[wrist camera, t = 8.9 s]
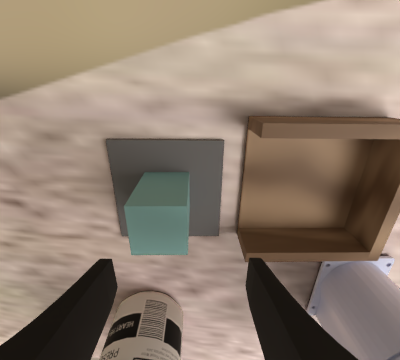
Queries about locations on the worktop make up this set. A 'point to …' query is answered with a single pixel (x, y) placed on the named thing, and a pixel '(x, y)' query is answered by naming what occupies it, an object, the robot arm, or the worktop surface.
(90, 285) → the robot arm
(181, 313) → the supplement can
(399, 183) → the walnut box
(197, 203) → the slate mat
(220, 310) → the worktop surface
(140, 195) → the block
